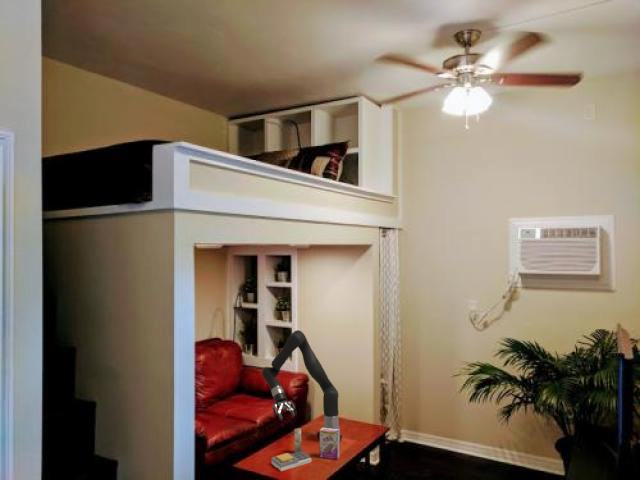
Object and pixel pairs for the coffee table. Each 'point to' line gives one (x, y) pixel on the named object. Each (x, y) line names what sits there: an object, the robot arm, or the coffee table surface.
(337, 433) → the candy bar box
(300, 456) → the keyboard
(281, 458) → the amber key
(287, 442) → the coffee table surface
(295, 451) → the beige rounded cylinder
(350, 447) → the coffee table surface
